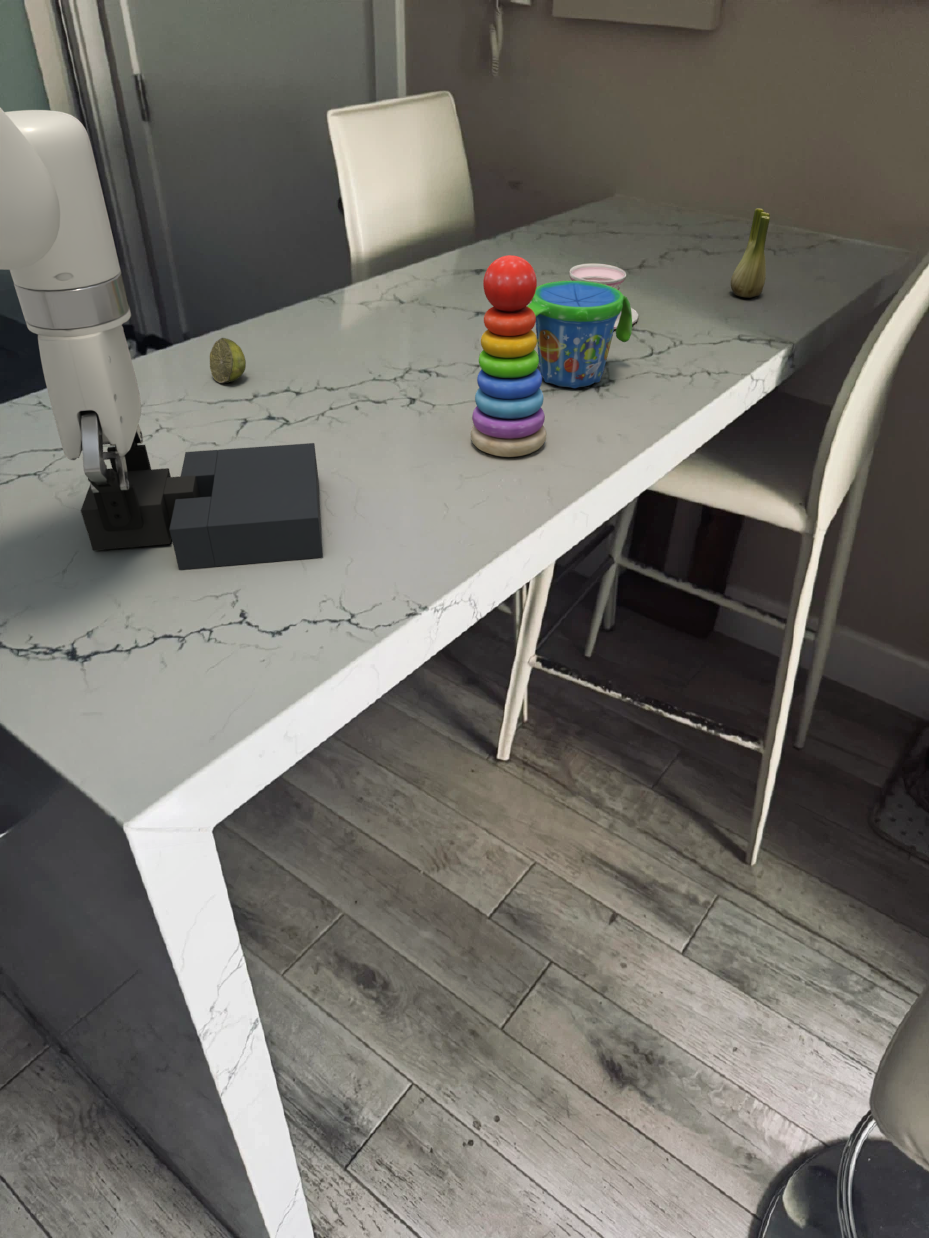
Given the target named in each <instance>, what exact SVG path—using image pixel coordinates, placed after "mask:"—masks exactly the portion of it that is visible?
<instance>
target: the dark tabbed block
mask: <svg viewBox="0 0 929 1238" xmlns="http://www.w3.org/2000/svg"><path fill="white" fill-rule="evenodd" d="M116 473H117V472H116ZM127 473H128V480H129V485H130V484H134V487H135V491H136V495H137V498H138V502H139V506H140V510H141V513H142V517H143V521H144V524H143V527H142V528H141V529H136V530H124V531H112V532H108V531H106V530H104V528H103V524H102V521H101V518H100V514H99V511H98V508H97V504H96V501H95V498H94V494H93V492H92V490H91V485H90V484H89V487H88V489H87V492H86V495H85V497H84V500H83V503H82V506H81V508H80V513H81V517H82V520H83V523H84V526H85V529H86V532H87V535H88V539H89V542H90V545H91V548H92V551H103V550H114V549H126V548H137V547H139V548H140V547H150V546H161V545H163V546H164V545H171V543H172V538H171V534H170V530H169V529H170V525H171V520H172V515H173V510H174V505H175V500H176V499H187V498H200V493H199V489H198V484H197V479H196V476H195V475H193V476H181V475H180V476H171V472H170V468H169V467H166V468H154V469H152V468H151V470H139V471H127Z"/></svg>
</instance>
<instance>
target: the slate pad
mask: <svg viewBox="0 0 929 1238" xmlns="http://www.w3.org/2000/svg"><path fill="white" fill-rule="evenodd" d="M318 471H319V469H318V462H317V453H316V445H315V442H307V443H296V444H295V443H294V444H281V445H280V444H279V445H266V446H252V447H237V448H222V449H208V450H207V449H206V450H195V451H194V450H193V451H185V453H184V457H183V463H182V466H181V472H180V476H193V475H195V476H196V479H197V484H198V489H199V493H200V498H187V499H176V500H175V505H174V510H173V515H172V520H171V525H170V529H169V530H170V534H171V543H172V546H173V550H174V555H175V559H176V563H177V567H178V570H179V571H183V570H195V569H203V568H204V569H206V568H215V567H226V566H227V567H228V566H239V565H253V564H261V563H262V564H263V563H274V562H286V561H296V560H297V561H298V560H310V559H320V558H324V553H323V552H324V551H323V536H322V535H323V534H322V517H321V516H322V515H321V514H322V513H321V498H320V480H319V472H318Z"/></svg>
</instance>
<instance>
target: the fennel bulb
mask: <svg viewBox="0 0 929 1238" xmlns="http://www.w3.org/2000/svg"><path fill="white" fill-rule="evenodd" d="M770 220H771V214H770V213H768V212H765V210H764V209H763V208H760V207H759V208H755V209H754V213H753V216H752V221H751V227H750V232H749V238H748V241H747V243H746V244H747V245H746V248H745V251H744V253H743V254H742V257H741V259H740V261H739V263H738V264H737V266H736V267H735V269H734V271H733V273H732V276H731V278H730V289H731V291H732V293H733V294H734V295H735V296H737V297H740V298H754V297H758V296H760V295H761V294H762V293H763V290H764V287H765V283H766V279H767V278H766V277H767V276H766V275H767V274H766V272H767V270H766V269H767V267H766V256H765V254H766V253H765V247H766V241H767V234H768V230H769V225H770Z"/></svg>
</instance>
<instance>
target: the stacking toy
mask: <svg viewBox="0 0 929 1238" xmlns="http://www.w3.org/2000/svg"><path fill="white" fill-rule="evenodd" d="M537 279H538V278H537V275H536V271H535V270H534V267H533V266H532V264H531V263H529V261H527V260H526V259H524V258H523V257H521V256H517V255H513V254H512V255H511V254H510V255H503V256H501V257H500V256H499V257H498V258H497V259H495V260H494V261H492V262H491V263H490V265H488V267H487V268H486V270H485V273H484V276H483V279H482V280H483V282H482V286H483V293H484V295H485V297H486V299H487V301H488V302H489V304H490V305H491V307H490V308H488V309H487V310H486V311H485V313H484V316H483V324H484V326H485V328H486V330H485V331H484V332H483V333H482V334H481V337H480V345H481V348H482V351H481V352H480V353H479V356H478V364H479V365H478V366H479V367H480V370H479V372H478V374H477V377H476V382H477V386H478V389H477V390H476V392H475V395H474V402H475V405H476V406H475V408H474V409H473V411H472V414H471V416H472V417H471V418H472V424H473V425H472V427H471V430H470V439H471V442H472V443H473V445H474V446H475V447H476V448H477V449H478V450H480V451H482V452H483V453H485V454H489V455H492V456H496V457H504V458H514V457H522V456H526V455H530V454H532V453H534V452H536V451H538V450H539V449H541V448H542V447H543V445H544V444H545V442H546V439H547V430H546V427H545V426H544V424H545V421H546V420H545V419H546V418H545V416H546V415H545V412H544V409H543V408H542V406H543V404H544V393H543V391H542V389H541V386H542V382H543V377H542V376H541V373H540V369H538V366H539V357H538V351H536V347H537V334H536V332H535V331H534V330H533V328H534V327H535V326H536V316H535V313H534V312H533V310H532V309H530V308H529V307H527V306H528V305H529V304H530V303H531V302H532V301H531V300H532V299H533V297H534V295H535V292H536V287H538V285H537V284H538V281H537Z"/></svg>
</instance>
